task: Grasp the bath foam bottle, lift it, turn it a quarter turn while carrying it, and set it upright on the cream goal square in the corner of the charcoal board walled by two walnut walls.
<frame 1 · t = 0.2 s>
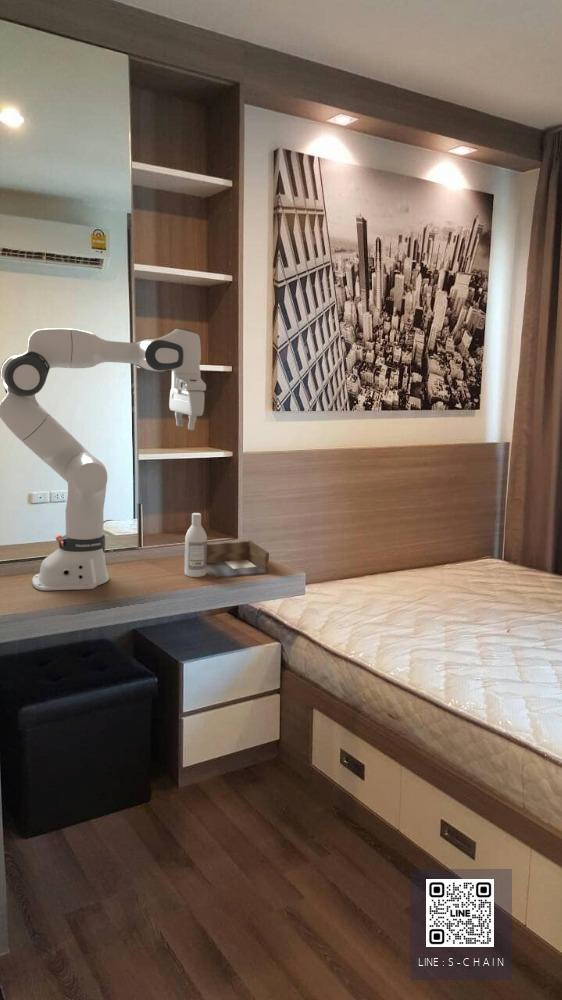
hand: (185, 428, 224), 47 cm above the table, fingers open, 8 cm apart
bath foam: (195, 574, 231), on the table
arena: (233, 568, 239), on the table
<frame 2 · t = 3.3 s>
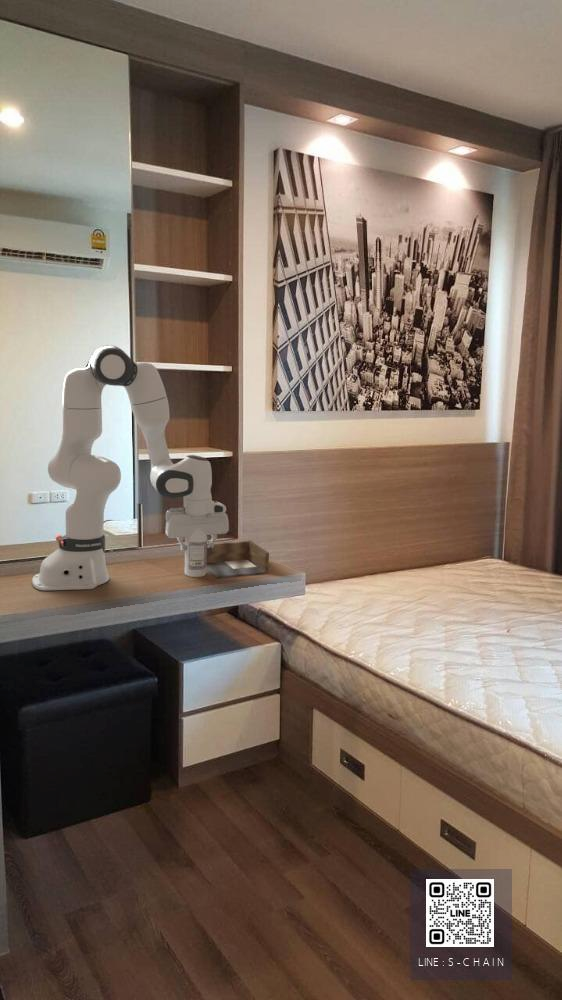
hand: (197, 548, 230), 8 cm above the table, fingers open, 7 cm apart
bath foam: (195, 575, 231), on the table, touching arm, gripper
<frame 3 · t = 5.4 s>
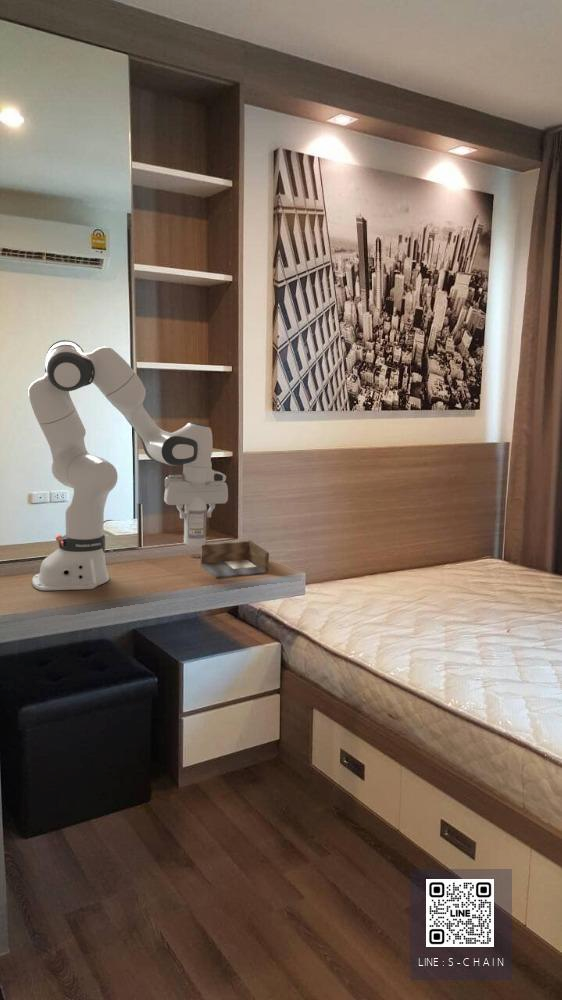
hand: (195, 517, 227), 19 cm above the table, fingers closed on bath foam, 7 cm apart
bath foam: (194, 544, 229), point 10 cm above the table, touching gripper
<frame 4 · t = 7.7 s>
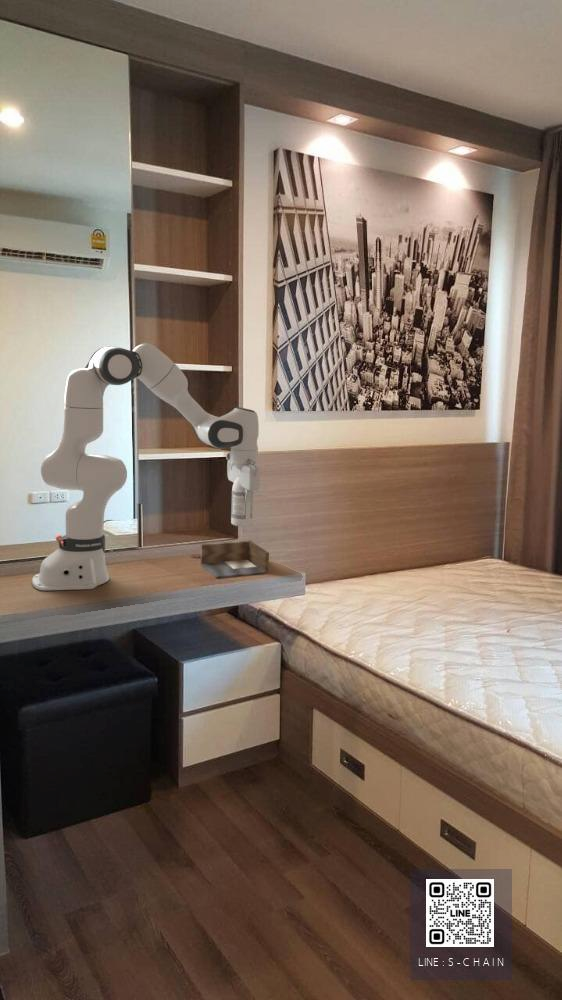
hand: (242, 499, 238), 23 cm above the table, fingers closed on bath foam, 7 cm apart
bath foam: (241, 524, 239), point 14 cm above the table, touching gripper
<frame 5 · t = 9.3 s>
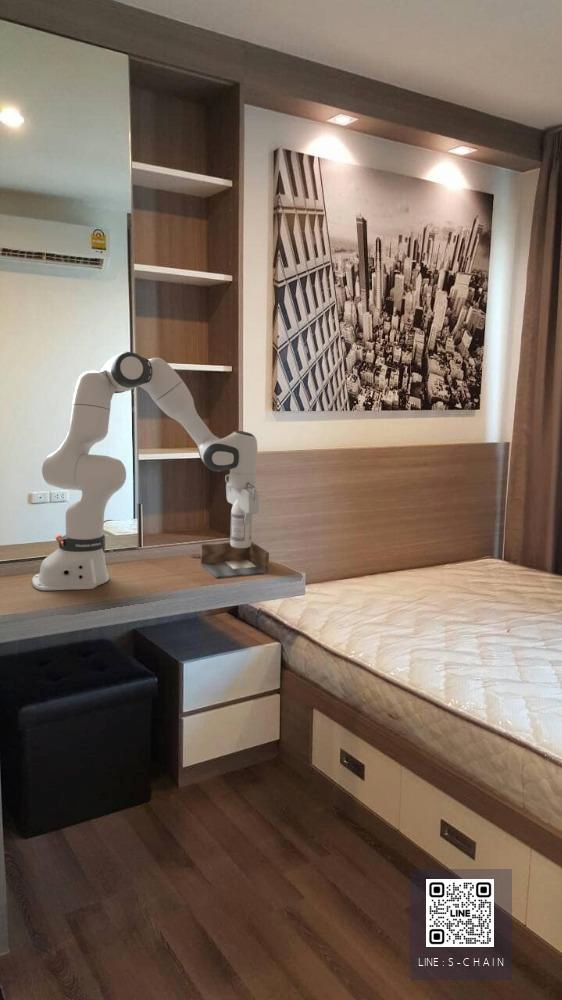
hand: (241, 521, 240), 15 cm above the table, fingers closed on bath foam, 7 cm apart
bath foam: (240, 546, 241), point 7 cm above the table, touching gripper
when the fingers open (10 cm above the table, at t = 10.9 s): bath foam stays where it is, resting on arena.
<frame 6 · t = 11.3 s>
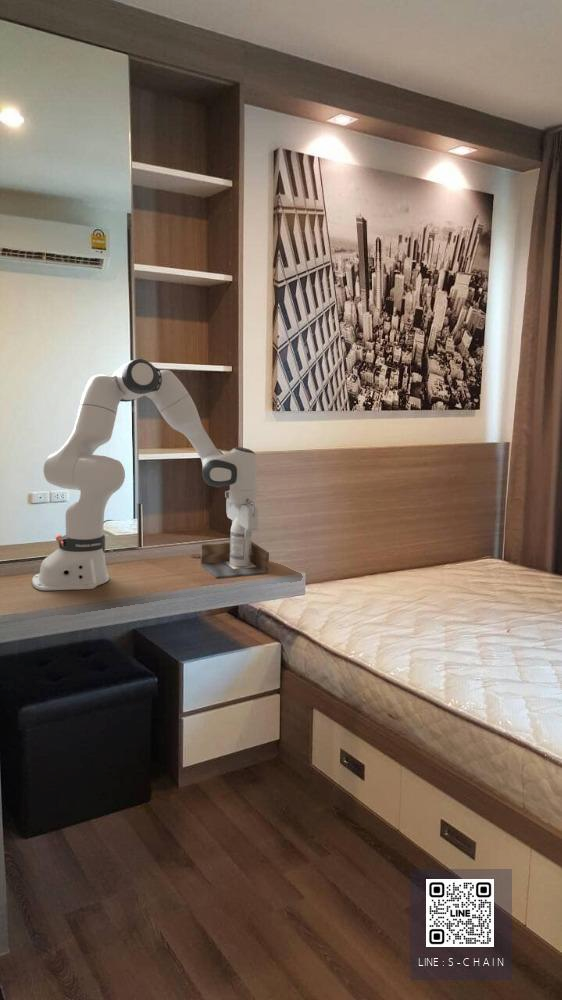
hand: (241, 537, 240), 10 cm above the table, fingers open, 8 cm apart
bath foam: (239, 564, 242), point 1 cm above the table, touching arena
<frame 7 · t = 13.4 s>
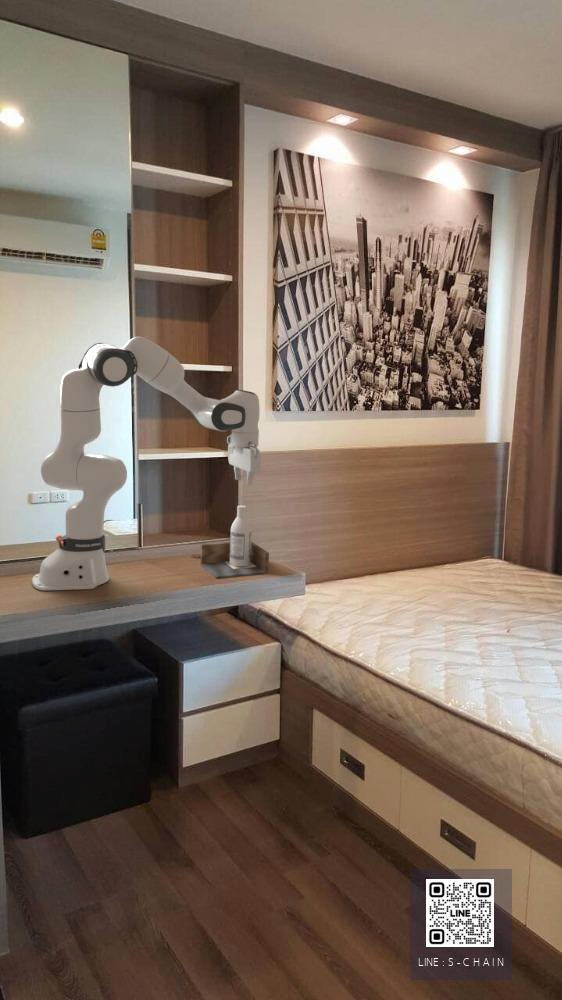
hand: (243, 482, 237), 29 cm above the table, fingers open, 8 cm apart
nothing on the table moved.
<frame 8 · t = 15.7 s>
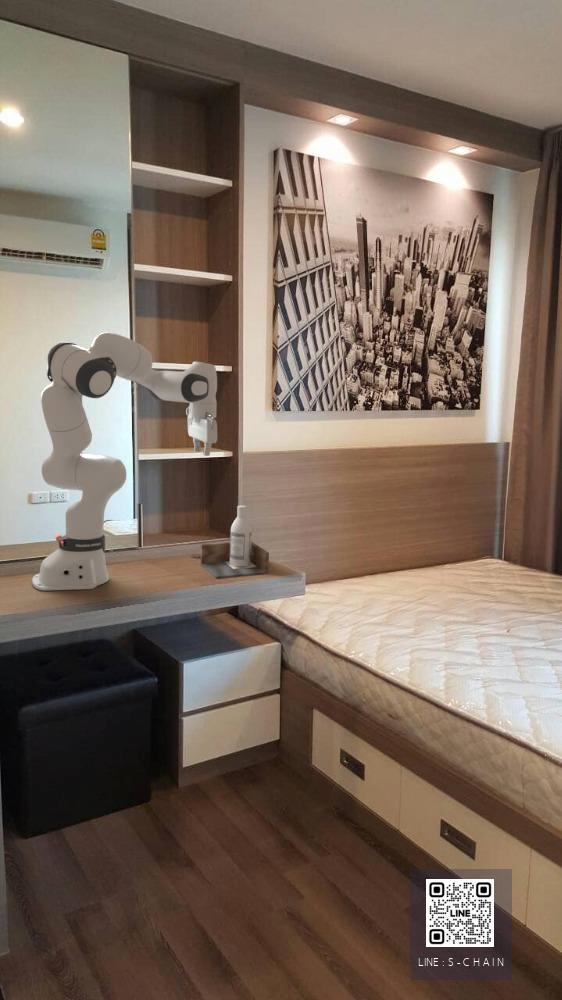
hand: (202, 453, 239), 37 cm above the table, fingers open, 8 cm apart
nothing on the table moved.
at the end: bath foam 0.4 cm from the target spot on the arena, point 0.5 cm above the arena's base; bath foam tilted 0°; the gripper is holding nothing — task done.
